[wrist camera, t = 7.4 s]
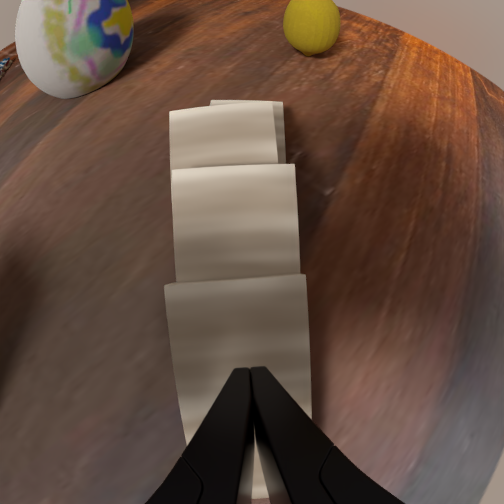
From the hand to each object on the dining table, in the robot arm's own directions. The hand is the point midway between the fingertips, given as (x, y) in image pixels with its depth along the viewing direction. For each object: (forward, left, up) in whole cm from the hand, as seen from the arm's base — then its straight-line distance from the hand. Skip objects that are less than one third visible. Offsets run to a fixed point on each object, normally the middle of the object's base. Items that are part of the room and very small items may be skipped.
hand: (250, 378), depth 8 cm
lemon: (+25, -17, -7) cm, 31 cm away
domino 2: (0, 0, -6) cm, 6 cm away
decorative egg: (+33, +5, -7) cm, 34 cm away
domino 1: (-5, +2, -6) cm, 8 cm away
